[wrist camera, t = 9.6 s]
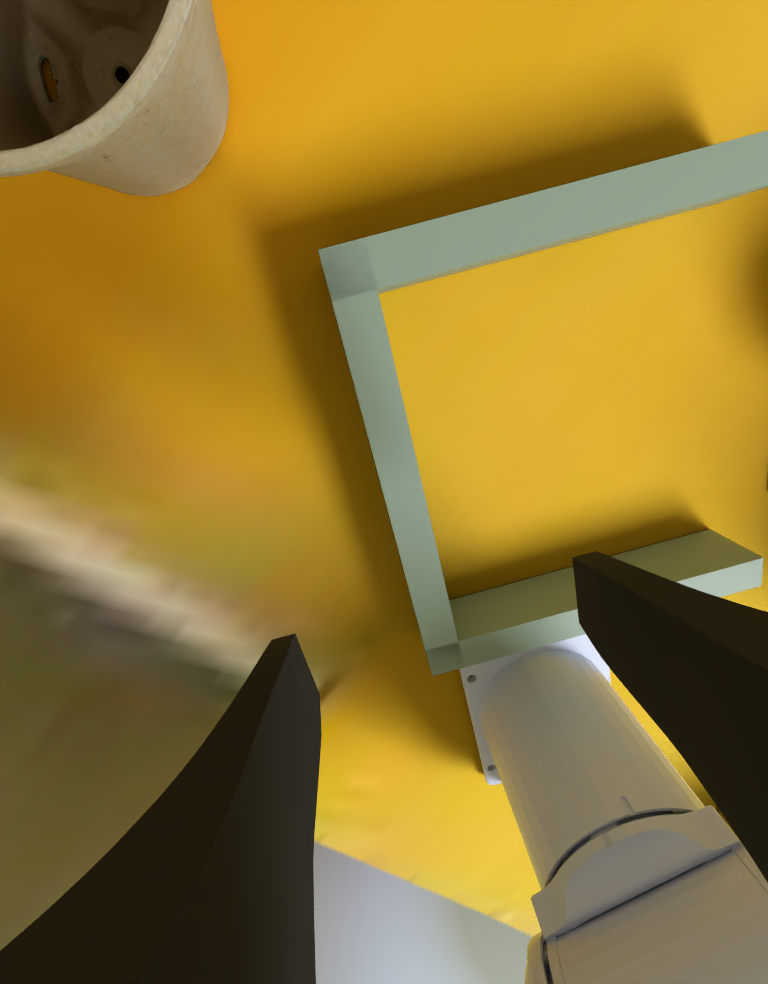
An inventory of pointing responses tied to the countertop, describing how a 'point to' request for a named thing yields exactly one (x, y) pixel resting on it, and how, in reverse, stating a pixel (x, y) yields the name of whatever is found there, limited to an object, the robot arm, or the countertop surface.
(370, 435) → the green u-shaped frame
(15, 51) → the flower pot
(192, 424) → the countertop surface
